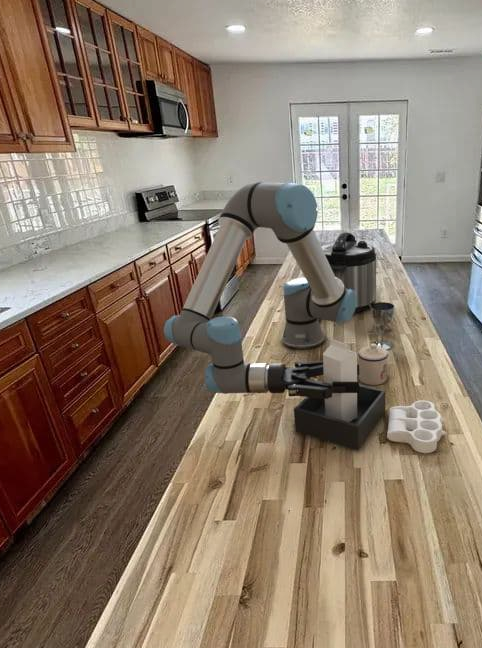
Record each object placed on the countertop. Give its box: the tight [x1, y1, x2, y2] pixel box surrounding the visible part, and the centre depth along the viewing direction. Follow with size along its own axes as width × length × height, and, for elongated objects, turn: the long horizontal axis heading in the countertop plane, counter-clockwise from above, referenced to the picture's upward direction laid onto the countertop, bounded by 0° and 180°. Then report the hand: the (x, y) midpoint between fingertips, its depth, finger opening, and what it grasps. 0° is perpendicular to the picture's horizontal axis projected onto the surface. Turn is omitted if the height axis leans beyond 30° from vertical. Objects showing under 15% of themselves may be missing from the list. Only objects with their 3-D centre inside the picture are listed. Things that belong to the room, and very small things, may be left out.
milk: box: [322, 338, 358, 422], centre depth 109 cm, size 6×6×22 cm
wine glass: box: [370, 301, 395, 350], centre depth 153 cm, size 8×8×15 cm
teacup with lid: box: [357, 343, 389, 386], centre depth 134 cm, size 12×9×12 cm
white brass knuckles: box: [386, 400, 448, 454], centre depth 110 cm, size 3×18×15 cm
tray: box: [293, 380, 387, 451], centre depth 113 cm, size 18×18×7 cm
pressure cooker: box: [321, 231, 377, 314], centre depth 188 cm, size 30×28×32 cm
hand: (359, 378), depth 109 cm, fingers closed on milk, 8 cm apart
